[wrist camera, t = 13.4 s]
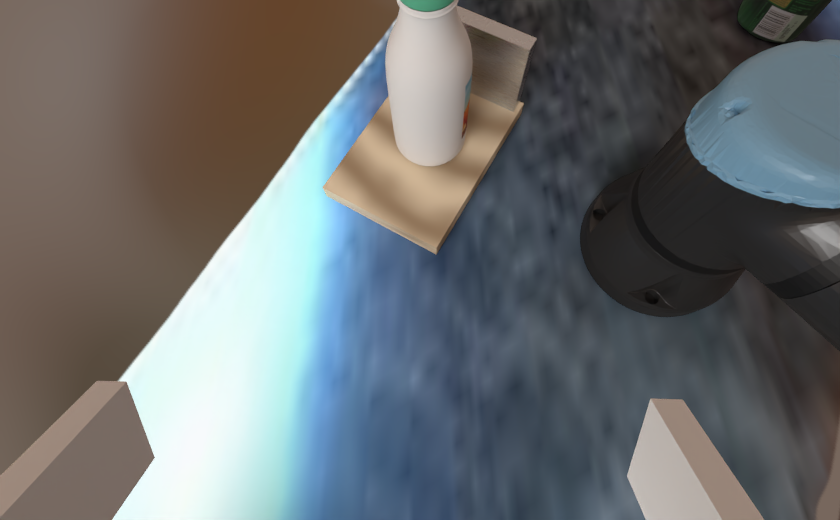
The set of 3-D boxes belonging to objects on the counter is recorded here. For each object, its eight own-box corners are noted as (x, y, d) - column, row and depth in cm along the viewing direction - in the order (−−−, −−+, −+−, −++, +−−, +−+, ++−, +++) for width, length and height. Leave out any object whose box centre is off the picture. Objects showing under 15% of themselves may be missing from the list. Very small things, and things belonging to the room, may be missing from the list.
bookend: (420, 57, 53) (417, -11, 44) (519, 101, 50) (537, 38, 42) (413, 67, 52) (409, 0, 44) (513, 112, 50) (529, 50, 41)
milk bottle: (452, 177, 47) (464, 22, 28) (385, 157, 48) (353, -5, 29) (474, 119, 50) (498, -61, 31) (409, 101, 51) (394, -83, 32)
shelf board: (417, 68, 55) (416, 56, 53) (520, 114, 52) (523, 103, 50) (327, 196, 49) (322, 187, 47) (436, 254, 47) (436, 248, 45)
